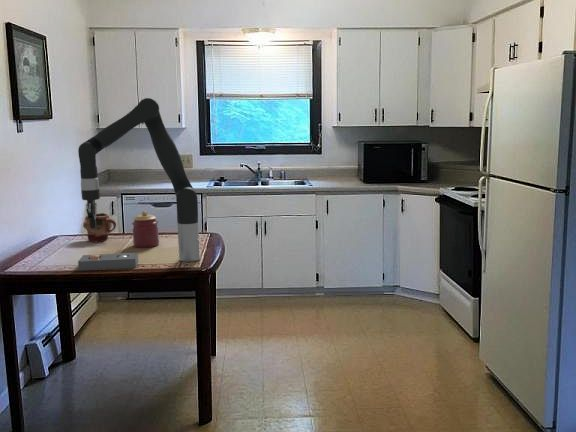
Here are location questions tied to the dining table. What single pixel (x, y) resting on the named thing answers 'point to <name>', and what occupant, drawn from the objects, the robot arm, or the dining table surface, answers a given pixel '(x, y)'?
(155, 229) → the canister
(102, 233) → the brown ceramic mug
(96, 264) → the button panel
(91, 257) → the terracotta button
